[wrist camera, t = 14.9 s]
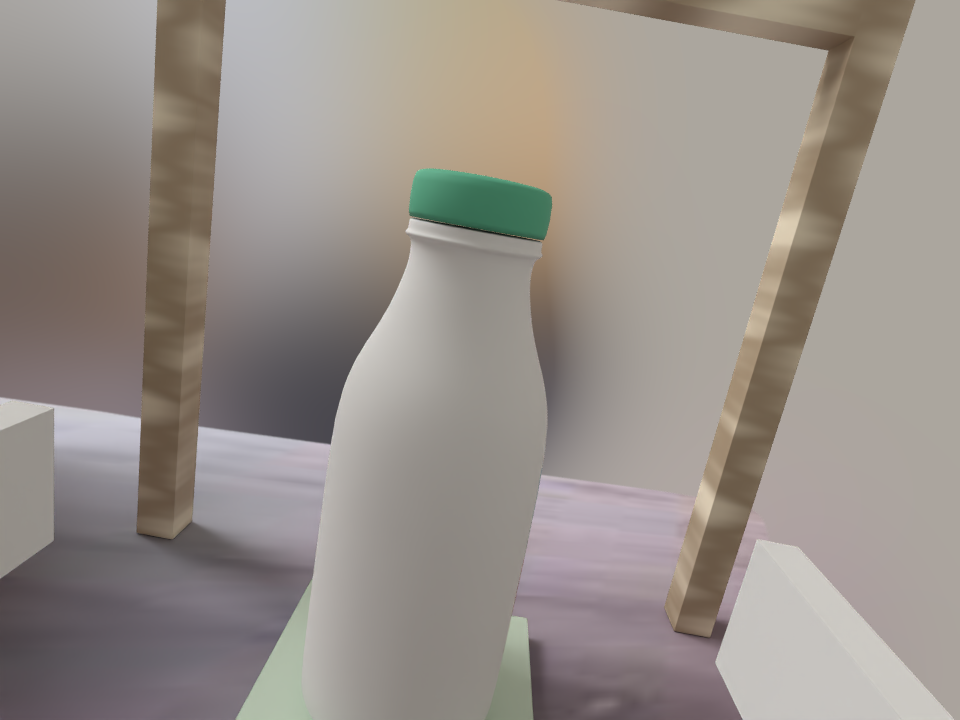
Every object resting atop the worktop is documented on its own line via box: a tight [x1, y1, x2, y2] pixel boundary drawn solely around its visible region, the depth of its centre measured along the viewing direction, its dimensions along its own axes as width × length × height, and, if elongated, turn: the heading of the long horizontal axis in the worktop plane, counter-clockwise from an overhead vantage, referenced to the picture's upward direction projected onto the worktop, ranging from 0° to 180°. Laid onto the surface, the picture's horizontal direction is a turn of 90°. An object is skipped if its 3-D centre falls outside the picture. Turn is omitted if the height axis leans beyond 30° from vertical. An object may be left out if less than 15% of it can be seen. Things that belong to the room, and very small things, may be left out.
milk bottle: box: [301, 169, 552, 720], centre depth 21 cm, size 8×8×20 cm
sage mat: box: [235, 579, 533, 720], centre depth 23 cm, size 11×11×1 cm
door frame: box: [137, 0, 915, 638], centre depth 28 cm, size 32×2×33 cm, turn 88°
